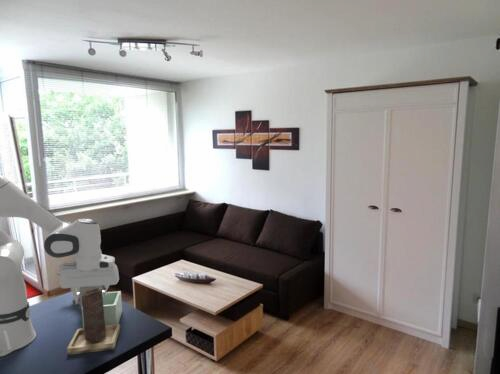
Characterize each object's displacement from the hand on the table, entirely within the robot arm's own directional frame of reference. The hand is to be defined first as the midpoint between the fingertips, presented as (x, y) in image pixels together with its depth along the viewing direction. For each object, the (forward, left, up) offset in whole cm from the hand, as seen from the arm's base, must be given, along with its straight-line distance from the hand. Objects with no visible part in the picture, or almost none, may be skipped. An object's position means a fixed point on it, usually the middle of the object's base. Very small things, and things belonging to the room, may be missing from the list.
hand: (91, 296), depth 127 cm
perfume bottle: (-7, +26, -19) cm, 33 cm away
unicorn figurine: (-18, +35, -19) cm, 44 cm away
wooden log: (0, 0, -18) cm, 18 cm away
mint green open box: (0, +15, -19) cm, 24 cm away
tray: (0, 0, -19) cm, 19 cm away
